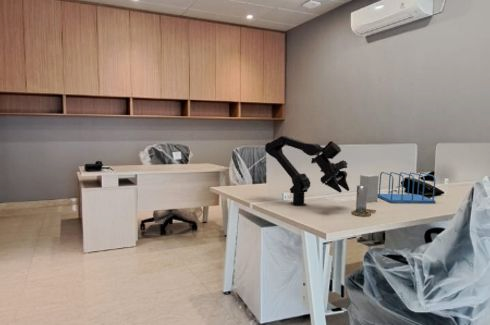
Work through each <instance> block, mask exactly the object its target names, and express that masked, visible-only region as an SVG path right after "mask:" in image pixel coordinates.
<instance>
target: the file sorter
mask: <svg viewBox="0 0 490 325" xmlns="http://www.w3.org/2000/svg"><path fill="white" fill-rule="evenodd" d="M382 174H384V175H389V180H388V193H381V184H382ZM393 174H395V175H398V187H397V189H398V190H397V191H398V192H397V193H393V192H394V180H395V179H394V175H393ZM403 174H404V175H407V176H408V180H407V181H408V182H407V194H405V193H404V185H405V178H404V175H403ZM414 175H416V176H418V180H417V192H416V194H415V193H414V190H415V176H414ZM424 175H425V176H429V177H433V188H432V190H433V191H432V198H429V197H427V196H424V195H425V184H426V181H425V180H426V178H425V176H424ZM401 177H402V185H401ZM411 177H412V192H411V193H410V181H411V180H410V179H411ZM421 177H422V180H423V182H422V184H423V185H422V194H419V192H420V191H419V190H420V180H421ZM436 181H437V180H436V177H435V175H432V174H430V173H425V172H419V173H415V172H410V173H406V172H400V173H397V172H394V171H391V172H390V173H389V172H384V171H381V172H380V175H379V182H378V197H377V198H380V199H381V200H384V201H386V202H388V203H389V204H436V200H435V191H436ZM400 186H401V193H400ZM390 192H391V193H390Z"/></svg>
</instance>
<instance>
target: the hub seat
mask: <svg viewBox="0 0 490 325" xmlns="http://www.w3.org/2000/svg"><path fill="white" fill-rule="evenodd" d="M350 214H351V215H353V216H355V217H362V218H369V217H371V216H372V213H371V212H369V211H366V214H360V213H356V209H354V210H353V209H352V211H351V213H350Z"/></svg>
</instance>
